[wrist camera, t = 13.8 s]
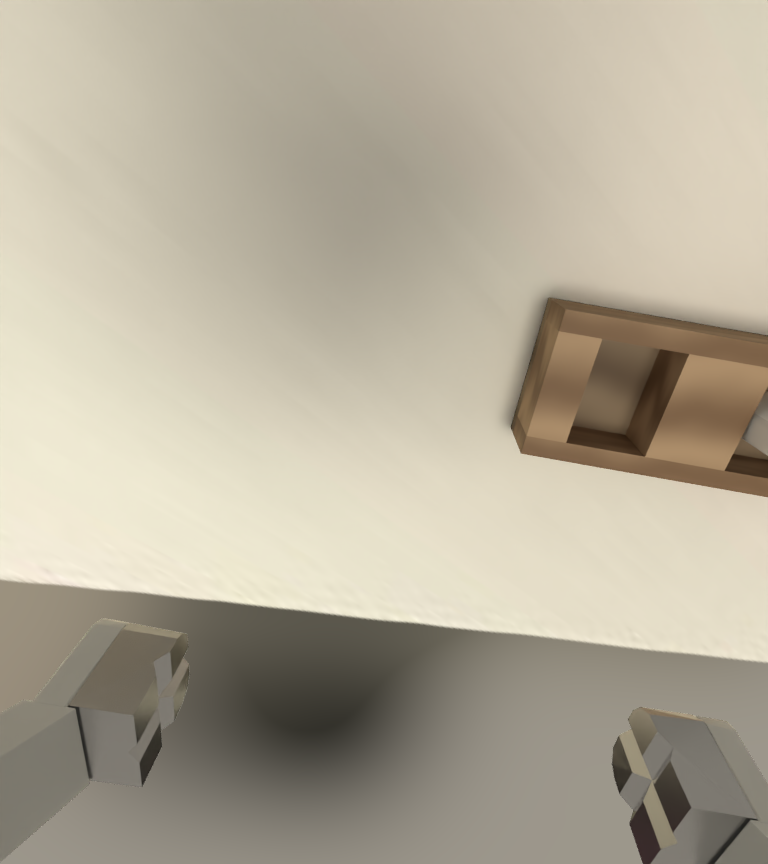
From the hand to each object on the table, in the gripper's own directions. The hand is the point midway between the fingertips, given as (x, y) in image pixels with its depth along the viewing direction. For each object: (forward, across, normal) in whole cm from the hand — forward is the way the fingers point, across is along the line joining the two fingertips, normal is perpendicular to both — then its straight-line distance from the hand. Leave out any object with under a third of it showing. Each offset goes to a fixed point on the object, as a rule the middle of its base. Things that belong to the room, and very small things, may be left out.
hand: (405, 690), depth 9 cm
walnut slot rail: (+33, -21, +3) cm, 39 cm away
